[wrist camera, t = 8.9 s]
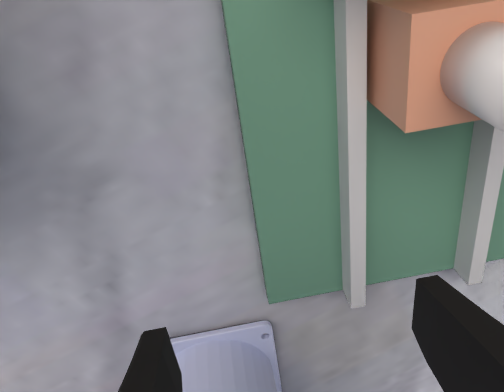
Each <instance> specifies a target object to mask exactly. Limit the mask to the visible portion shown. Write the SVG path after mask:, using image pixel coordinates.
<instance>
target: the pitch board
mask: <svg viewBox="0 0 504 392" xmlns="http://www.w3.org/2000/svg"><path fill="white" fill-rule="evenodd" d="M221 2H222V9H223V15H224V22H225V28H226V35H227V41H228V48H229V54H230V61H231V67H232V74H233V80H234V87H235V93H236V100H237V106H238V113H239V119H240V125H241V132H242V138H243V145H244V151H245V158H246V164H247V171H248V177H249V184H250V190H251V197H252V203H253V210H254V216H255V223H256V229H257V235H258V242H259V248H260V255H261V261H262V268H263V274H264V281H265V287H266V293H267V297H268V302H269V304H272V303H278V302H283V301H288V300H293V299H298V298H303V297H308V296H313V295H319V294H324V293H329V292H334V291H339V290H343V291H344V294H345V296H346V298H347V300H348V302H349V305H350V307H351V309H352V308H357V307H362V306H366V285H370V284H375V283H380V282H385V281H390V280H395V279H400V278H406V277H411V276H416V275H421V274H426V273H431V272H436V271H441V270H446V269H452V268H454V269H455V270H456V272H457V273H458V274H459V275H460V277H461V278H462V279H463V280H464V281H465V283H466V284H467V285H474V284H479V283H482V279H483V274H484V269H485V264H486V262H487V261H493V260H498V259H503V258H504V133H503V132H502V131H500V130H499V129H497V128H495V127H494V126H492V125H490V124H489V123H487V122H485V121H484V120H477V121H471V122H465V123H460V124H454V125H449V126H443V127H438V128H432V129H426V130H421V131H415V132H410V133H405V132H403V131H402V130H401V129H400V128H399V127H398V126H397V125H395V124H394V123H393V122H392V121H391V120H390V119H389V118H387V117H386V116H385V115H384V114H383V113H382V112H381V111H379V110H378V109H377V108H376V107H375V106H374V105H373V104H371V103H370V102H369V101H368V100H367V0H221Z"/></svg>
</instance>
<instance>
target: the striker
mask: <svg viewBox="0 0 504 392" xmlns="http://www.w3.org/2000/svg"><path fill="white" fill-rule="evenodd" d="M367 100H368V101H369V102H370V103H371V104H373V105H374V106H375V107H376V108H377V109H378V110H379V111H381V112H382V113H383V114H384V115H385V116H386V117H387V118H389V119H390V120H391V121H392V122H393V123H394V124H395V125H397V126H398V127H399V128H400V129H401V130H402V131H403V132H405V133H410V132H415V131H421V130H426V129H432V128H438V127H443V126H449V125H454V124H460V123H465V122H471V121H477V120H484V121H485V122H487V123H489V124H490V125H492V126H494V127H495V128H497V129H499V130H500V131H502V132H503V133H504V0H367Z"/></svg>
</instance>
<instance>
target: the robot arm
mask: <svg viewBox="0 0 504 392" xmlns="http://www.w3.org/2000/svg"><path fill="white" fill-rule="evenodd" d="M412 330H413V332H414V335H415V337H416V339H417V342H418V344H419V346H420V348H421V351H422V353H423V355H424V357H425V359H426V362H427V363H428V365H429V367H430V369H431V370H432V372H433V374H434V375H435V377H436V379H437V380H438V382H439V384H440V386H441V387H442V389H443V391H444V392H504V325H503V324H502V323H500V322H499V321H497V320H496V319H495V318H493V317H492V316H490V315H489V314H488V313H486V312H485V311H484V310H482V309H481V308H480V307H478V306H477V305H476V304H474V303H473V302H472V301H470V300H469V299H468V298H467V297H465V296H464V295H463V294H461V293H460V292H459V291H457V290H456V289H455V288H453V287H452V286H451V285H450V284H448V283H447V282H446V281H444V280H443V279H442V278H440V277H439V276H438V275H435V276H430V277H424V278H419V279H416V288H415V299H414V309H413V320H412ZM265 333H267V334H265ZM118 392H282V388H281V381H280V375H279V368H278V362H277V355H276V349H275V342H274V336H273V329H272V325H271V323H270V322H269V321H258V322H253V323H248V324H243V325H238V326H233V327H228V328H223V329H218V330H213V331H208V332H202V333H197V334H192V335H187V336H182V337H177V338H172V339H170V338H169V335H168V332H167V329H166V327H164V328H159V329H154V330H149V331H144V332H143V333H142V335H141V337H140V340H139V343H138V345H137V348H136V350H135V353H134V356H133V358H132V361H131V363H130V366H129V368H128V370H127V373H126V375H125V377H124V380H123V382H122V384H121V386H120V388H119V391H118Z"/></svg>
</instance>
